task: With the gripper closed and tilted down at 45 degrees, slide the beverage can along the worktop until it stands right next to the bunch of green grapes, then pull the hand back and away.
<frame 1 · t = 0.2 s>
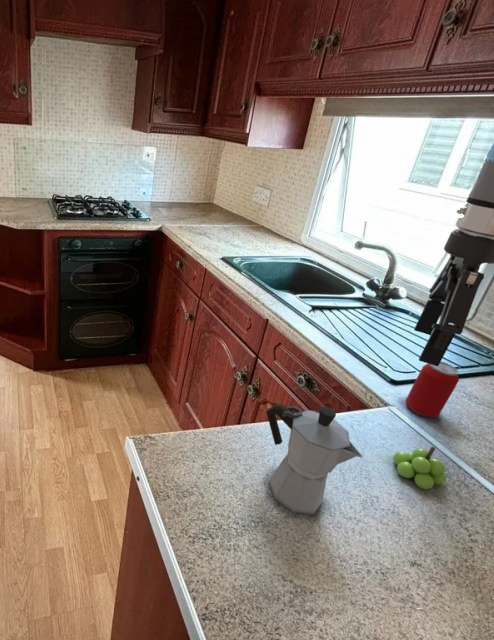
hand: (424, 346, 74), 23 cm above the countertop, tool pointing down, fingers open, 13 cm apart
beverage can: (420, 410, 94), on the countertop
grape bunch: (416, 475, 76), on the countertop
coffee maker: (288, 488, 70), on the countertop
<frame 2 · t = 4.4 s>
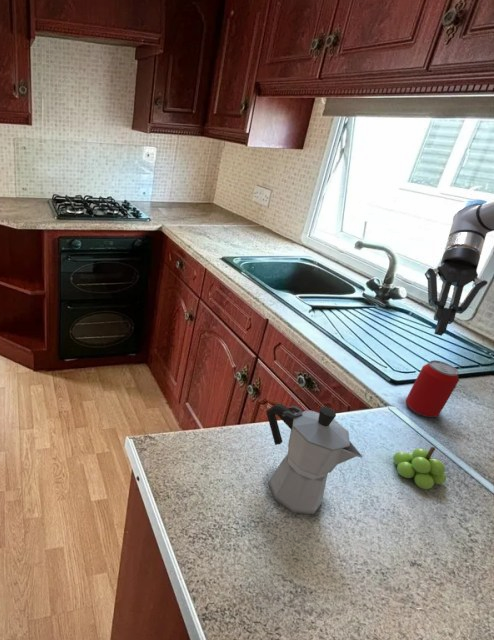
hand: (439, 332, 101), 14 cm above the countertop, tool tilted 45°, fingers closed
nothing on the countertop moved.
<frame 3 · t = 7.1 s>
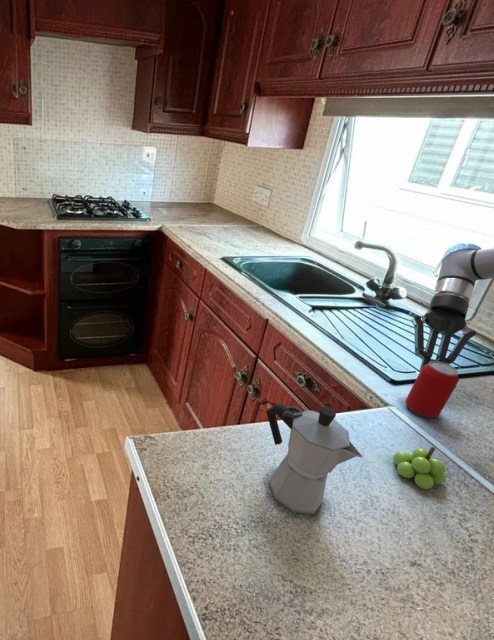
hand: (425, 385, 96), 4 cm above the countertop, tool tilted 45°, fingers closed
beverage can: (420, 410, 94), on the countertop, touching gripper
everything else where it was.
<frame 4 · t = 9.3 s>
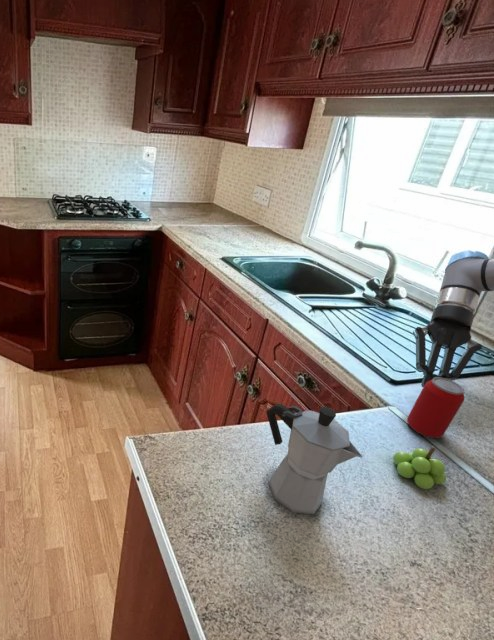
hand: (427, 402, 90), 4 cm above the countertop, tool tilted 45°, fingers closed
beverage can: (422, 429, 88), on the countertop, touching gripper
everything else where it was.
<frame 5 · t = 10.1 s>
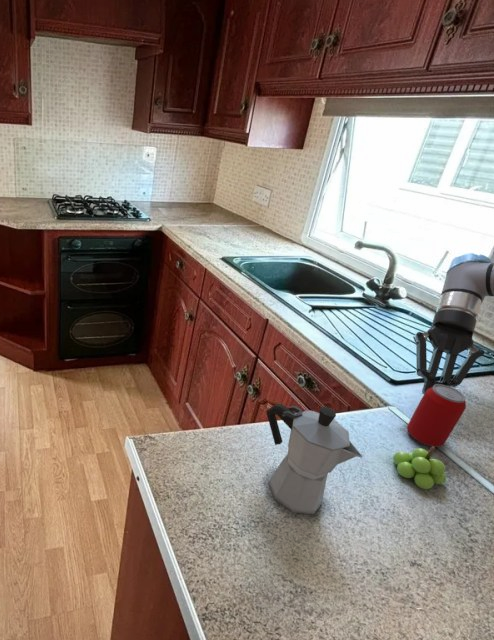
hand: (428, 410, 87), 4 cm above the countertop, tool tilted 45°, fingers closed
beverage can: (423, 438, 86), on the countertop, touching gripper
everything else where it was.
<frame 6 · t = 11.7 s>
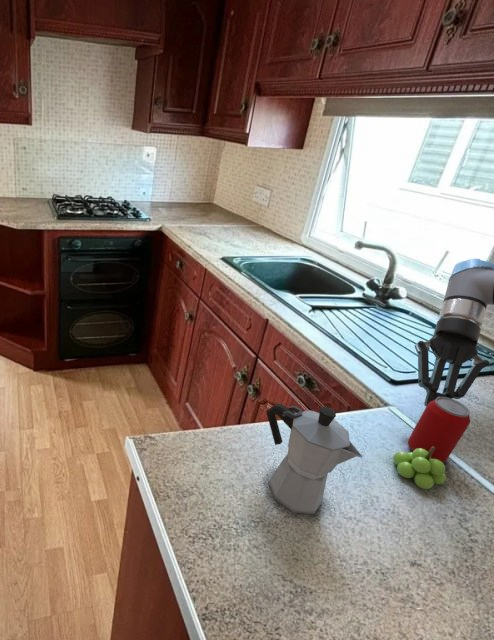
hand: (431, 423, 83), 4 cm above the countertop, tool tilted 45°, fingers closed
beverage can: (424, 453, 82), on the countertop, touching gripper
everything else where it was.
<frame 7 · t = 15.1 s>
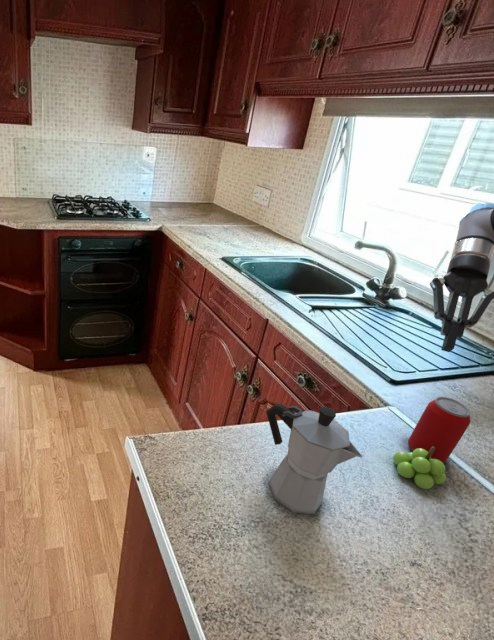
hand: (447, 349, 91), 15 cm above the countertop, tool tilted 45°, fingers closed
beverage can: (425, 453, 82), on the countertop
everything else where it was.
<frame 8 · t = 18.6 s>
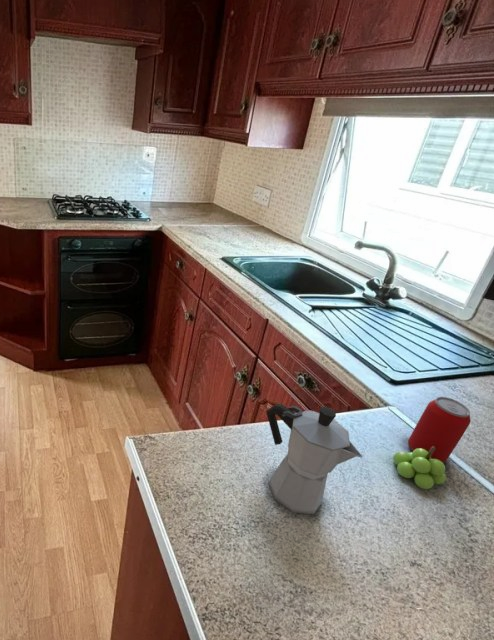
hand: (489, 298, 95), 24 cm above the countertop, tool pointing down, fingers closed
nothing on the countertop moved.
at the end: beverage can 8.8 cm from the grape bunch (horizontally); beverage can moved 16.4 cm from its start; beverage can tilted 0° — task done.
